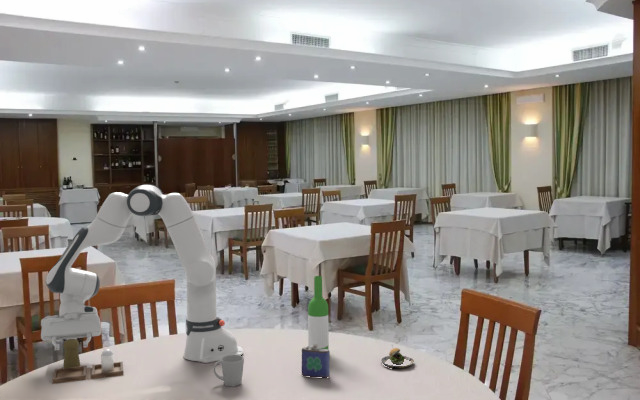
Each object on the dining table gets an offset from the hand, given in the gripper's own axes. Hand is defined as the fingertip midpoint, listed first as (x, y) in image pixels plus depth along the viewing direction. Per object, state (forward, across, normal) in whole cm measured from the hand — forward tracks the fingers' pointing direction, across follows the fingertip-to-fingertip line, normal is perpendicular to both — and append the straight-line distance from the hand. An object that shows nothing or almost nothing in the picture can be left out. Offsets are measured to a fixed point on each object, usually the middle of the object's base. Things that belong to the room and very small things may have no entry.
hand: (71, 348), depth 210 cm
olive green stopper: (+7, 0, +4) cm, 8 cm away
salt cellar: (+12, +12, -4) cm, 18 cm away
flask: (+32, +79, -21) cm, 88 cm away
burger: (+31, +111, -20) cm, 117 cm away
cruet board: (+14, +6, -3) cm, 15 cm away
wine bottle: (+16, +88, -6) cm, 90 cm away
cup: (+29, +50, -18) cm, 61 cm away
